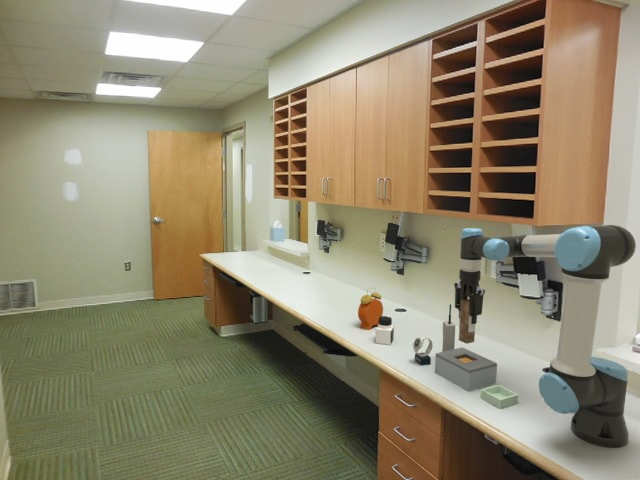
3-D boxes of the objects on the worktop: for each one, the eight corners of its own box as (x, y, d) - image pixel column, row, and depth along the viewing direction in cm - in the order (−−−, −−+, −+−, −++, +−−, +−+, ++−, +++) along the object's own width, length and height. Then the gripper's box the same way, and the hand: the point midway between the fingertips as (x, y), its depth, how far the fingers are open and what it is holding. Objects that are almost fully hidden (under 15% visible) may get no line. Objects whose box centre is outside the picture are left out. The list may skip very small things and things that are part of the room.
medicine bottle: (390, 345, 218) (391, 320, 216) (375, 343, 220) (375, 318, 218) (393, 340, 224) (394, 315, 223) (378, 338, 227) (379, 313, 225)
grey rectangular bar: (449, 359, 202) (452, 302, 198) (453, 363, 197) (456, 305, 193) (441, 359, 202) (443, 302, 198) (444, 364, 197) (447, 305, 193)
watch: (410, 361, 200) (411, 336, 198) (427, 358, 202) (428, 334, 201) (416, 366, 195) (417, 340, 193) (434, 364, 197) (435, 338, 195)
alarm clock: (373, 322, 250) (374, 285, 247) (383, 324, 246) (383, 287, 243) (357, 328, 241) (357, 289, 238) (366, 331, 236) (367, 291, 233)
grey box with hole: (495, 383, 180) (497, 363, 178) (468, 391, 173) (469, 370, 172) (461, 365, 195) (462, 347, 194) (434, 372, 189) (435, 353, 188)
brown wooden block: (474, 341, 181) (476, 301, 179) (466, 343, 179) (468, 302, 177) (466, 338, 185) (468, 298, 182) (458, 340, 183) (460, 299, 180)
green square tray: (517, 403, 165) (518, 394, 164) (500, 408, 161) (500, 400, 160) (498, 392, 172) (498, 384, 172) (480, 397, 168) (481, 389, 168)
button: (474, 366, 182) (475, 361, 182) (465, 369, 180) (465, 364, 180) (465, 362, 187) (465, 357, 186) (455, 364, 184) (455, 359, 184)
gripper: (495, 273, 172) (491, 335, 176) (461, 264, 187) (458, 321, 191) (480, 275, 169) (476, 338, 172) (446, 266, 183) (443, 324, 187)
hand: (466, 329), depth 181 cm, fingers closed on brown wooden block, 4 cm apart
